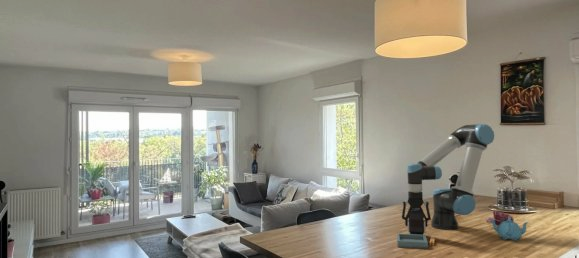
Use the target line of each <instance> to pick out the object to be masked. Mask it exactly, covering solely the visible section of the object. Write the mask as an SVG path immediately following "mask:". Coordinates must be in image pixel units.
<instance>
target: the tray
mask: <svg viewBox="0 0 579 258" xmlns="http://www.w3.org/2000/svg"><path fill="white" fill-rule="evenodd" d="M396 242H397V248H410V249H426V250H428V249H429V242H428V239H427V237H426V234H423V235H418V234H410V233H396Z"/></svg>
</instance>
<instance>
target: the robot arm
mask: <svg viewBox="0 0 579 258" xmlns="http://www.w3.org/2000/svg"><path fill="white" fill-rule="evenodd" d="M494 140H495V132H494V130H493V128H492V127H491V126H490V125H488V124H486V123H485V124H484V123H478V124H465V125H462V126H460V127H458V128H457V129H456V130H454V131H453V132H451V133H450V134H449V135H448V136H447V139H445V140H444V141H443V142H442V143H440V144H439V145H438V146H437V147H435V148H434V149H433V150H432V151H430V152H429V153H428V154H427V155H425V156H424V157H423V158H422V159H421V160H419V161H418V162H417V163H414V162H413V163H408V164H407V169H406V170H407V171H406V172H407V190H408V191H407V193H408V194H407V195H408V196H407V197H408V199H407V200H403V201H402V207H403V208H402V214H401V219H402V220H404V225H405V226H406V227H407V233H410V232H409V218H408V217H409V211H408V210H407V209H406V208H407V205H408V204H409V208H408V209H409V210H412V208H419V209H420V210H422V209H423V208H422V206H423V205H424V206H425V209H426V210H425V211H426V214H425V212H424V211H423V217H424V219H423V222H424V234H426V233H427V232H426V231H427V230H426V228H427V227H428V225H429V224H428V221H431V222H430V225H431V227H432V228H435V229H441V230H455V229H458V228H459V223H458V220H457V217H456V214H457V215H459V216H460V215H461V216H469V215H470V214H472V213H473V211H474V210H475V209H476V206H477V205H476V204H477V203H476V201H475V198H474V195H475V194H474V192H473V187H474V184H475V179H476V176H477V173H478V169H479V165H480V162H481V158H482V155H483V152H484V151H486V150H487V148H488V146H489V145H490V144H491V143H493V142H494ZM462 146H465V147H466V148H465V152H464V155H463V157H462V158H463V159H462V162H461V166H460V169H459V173H458V176H457V179H456V182H455V186H452V187H451V188H437V189H435V188H434V190H433V191H432V192H433V193H432V197H433V198H432V199H433V214H432V218H431V214H430V208H429V206H430V205H429V204H430V203H429V201H425V200H424V199H423V181H431V180H432V181H433V180H434V181H435V180H440V179H441V178H442V176H443V172H442V168H441V167H440V166H437V164H438V163H440V162H441V161H442V160H443V159H445V158H446V157H447V156H448V155H450V154H451V153H452V152H454V151H455V150H456V149H459V148H461V147H462ZM406 210H407V213H406ZM426 215H427V216H426Z"/></svg>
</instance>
